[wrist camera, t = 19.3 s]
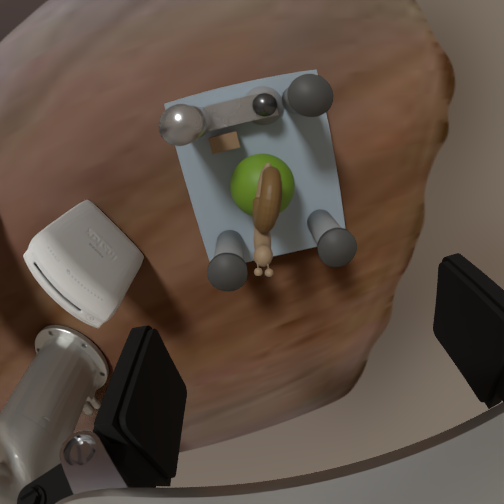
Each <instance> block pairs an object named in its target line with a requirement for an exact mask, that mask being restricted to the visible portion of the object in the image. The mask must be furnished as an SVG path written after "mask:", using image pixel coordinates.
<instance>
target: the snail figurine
mask: <svg viewBox="0 0 504 504" xmlns="http://www.w3.org/2000/svg"><path fill="white" fill-rule="evenodd" d="M294 191H295V181H294V176H293V174H292V171H291V170H290V168H289V167H288V165H287V164H286V163H285V162H284V161H282V160H281V159H280V158H278V157H276V156H273V155H270V154H255V155H251V156H249V157H247V158H245V159H244V160H242V161H241V162H240V163H239V164H238V165H237V166H236V168H235V169H234V171H233V173H232V176H231V180H230V192H231V196H232V198H233V200H234V202H235V204H236V205H237V206H238V208H239V209H241V210H242V211H243V212H244V213H246V214H248V215H250V216H253V224H254V238H253V241H254V248H255V251H254V261H255V262H256V264H257V268H256V269H255V270H254V274H255V275H256V276H261V275H262V274H263V271H262V269H261V268H259V266H261V267H265V266H267V267H268V269H266V270H265V275H266V276H267V277H271V276H272V275H273V270H272V269H269V264H270V263H271V261H272V259H273V252H272V250H271V234H270V230H272V228H273V227H274V225H275V223H276V220H277V219H278V216H279V213H281V212H282V211H283V210H284V209H286V207H287V206H288V205H289V204H290V202H291V200H292V198H293V195H294Z"/></svg>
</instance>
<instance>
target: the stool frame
mask: <svg viewBox="0 0 504 504" xmlns="http://www.w3.org/2000/svg"><path fill="white" fill-rule="evenodd" d="M269 91H273V93H274V97H275V99H276V101H277V110H278V114H279V115H276V116H271V117H267V118H262V119H257V120H253V121H249V122H244V123H240V124H236V125H232V126H228V127H224V128H220V129H217V130H213V131H209V132H207V134H205V135H204V136H202V137H201V138H199V139H197V140H195V141H193V142H191V143H190V144H187V145H184V146H176V150H177V153H178V157H179V161H180V164H181V168H182V171H183V175H184V178H185V182H186V185H187V189H188V192H189V195H190V199H191V202H192V206H193V209H194V212H195V216H196V219H197V222H198V225H199V229H200V232H201V235H202V238H203V242H204V245H205V248H206V251H207V254H208V258H209V261H210V263H209V266H208V271H207V275H208V279H209V281H210V283H211V284H212V285H213V286H214V287H215V288H217V289H219V290H222V291H234V290H237V289H239V288H240V287H242V286H243V285H244V283H245V282H246V280H247V275H248V272H247V265H246V262H250V261H254V251H255V248H254V241H253V238H254V224H253V216H250V215H248V214H246V213H244V212H243V211H242V210H241V209H239V208H238V206H237V205H236V204H235V202H234V200H233V198H232V196H231V192H230V180H231V176H232V173H233V171H234V169H235V168H236V166H237V165H238V164H239V163H240V162H241V161H242V160H244V159H245V158H247V157H249V156H251V155H255V154H270V155H273V156H276V157H278V158H280V159H281V160H282V161H284V162H285V163H286V164H287V165H288V167H289V168H290V170H291V171H292V174H293V176H294V181H295V191H294V195H293V198H292V200H291V202H290V204H289V205H288V206H287V207H286V209H284V210H283V211H282V212H281V213H279V216H278V219H277V220H276V223H275V225H274V227H273V228H272V230H270V234H271V250H272V252H273V256H277V255H282V254H286V253H291V252H295V251H299V250H304V249H308V248H313V247H317V252H318V255H319V257H320V259H321V260H322V261H323V263H325V264H326V265H328V266H330V267H341V266H344V265H346V264H347V263H349V262H350V261H351V260H352V259H353V257H354V256H355V253H356V250H357V243H356V240H355V238H354V236H353V235H352V234H351V233H350V232H349V231H348V230H346V229H345V222H344V215H343V207H342V200H341V193H340V187H339V180H338V174H337V168H336V162H335V156H334V151H333V145H332V140H331V134H330V129H329V124H328V119H327V114H326V112H327V111H328V110H329V108H330V107H331V105H332V102H333V91H332V88H331V86H330V84H329V83H328V82H327V81H326V80H325V79H324V78H322V77H321V76H319V75H318V74H317V70H309V71H303V72H296V73H290V74H284V75H278V76H273V77H268V78H262V79H258V80H253V81H248V82H243V83H239V84H235V85H230V86H226V87H222V88H218V89H214V90H210V91H207V92H203V93H199V94H196V95H192V96H189V97H185V98H182V99H179V100H175V101H172V102H169V103H166V104H164V105H165V109H168V108H169V107H171V106H173V105H176V104H187V105H192V106H197V107H201V108H202V107H206V106H210V105H213V104H217V103H221V102H225V101H229V100H233V99H237V98H241V97H246V96H250V95H254V94H259V93H264V92H269Z"/></svg>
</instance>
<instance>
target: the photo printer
mask: <svg viewBox="0 0 504 504" xmlns="http://www.w3.org/2000/svg"><path fill="white" fill-rule="evenodd" d="M23 257H24V260H25V262H26V264H27V266H28V268H29V270H30V271H31V273H32V274H33V276H34V277H35V279H36V280H37V281H38V283H39V284H40V285H41V287H42V288H43V289H44V290H45V291H46V292H47V293H48V294H49V295H50V297H51V298H53V299H54V300H55V301H56V302H57V303H58V304H59V305H60V306H61V307H62V308H64V309H65V310H66V311H67V312H69V313H70V314H72V315H73V316H74V317H76V318H77V319H79V320H81V321H82V322H84V323H86V324H88V325H91V326H93V327H96V328H99V327H100V326H101V325H102V324H103V323H104V322H106V321H108V320H109V319H110V318H111V317H112V316H113V315H114V313H115V312H116V311H117V309H118V307H119V305H120V304H121V302H122V300H123V298H124V296H125V294H126V292H127V290H128V289H129V287H130V285H131V283H132V281H133V279H134V278H135V276H136V274H137V272H138V270H139V269H140V267H141V265H142V261H143V259H144V256H143V254H142V253H141V251H140V250H139V249H138V248H137V247H136V245H135V244H134V243H133V242H132V241H131V240H130V239H129V238H128V237H127V236H126V235H125V234H124V233H123V232H122V231H121V230H120V229H119V228H118V227H117V226H116V225H115V224H114V223H113V222H112V221H111V220H110V219H109V218H108V217H107V216H106V215H105V214H104V213H103V212H102V211H101V210H100V209H99V208H98V207H97V206H96V205H94V204H93V203H92V202H91V201H89V200H85V201H84V202H81V203H79V204H78V205H76V206H75V207H73V208H72V209H71V210H69V211H68V212H66V213H65V214H63V215H62V216H61V217H59V218H58V219H57V220H55V221H54V222H52V223H51V224H50V225H48V226H47V227H46V228H44V229H43V230H42V231H40V232H39V233H38V234H36V235H35V236H34V238H33V239H32V240H31V242H30V244H29V247H28V249H27V251H26V252H25V253H24V255H23Z"/></svg>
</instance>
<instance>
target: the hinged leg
mask: <svg viewBox="0 0 504 504" xmlns="http://www.w3.org/2000/svg"><path fill="white" fill-rule="evenodd" d="M276 115H279V114H278V110H277V101H276V99H275V97H274V93H273V91H269V92H264V93H259V94H254V95H250V96H246V97H241V98H237V99H233V100H229V101H225V102H221V103H217V104H213V105H210V106H206V107H202V108H201V107H197V106H192V105H187V104H176V105H173V106H171V107H169V108H168V109H166V110H165V111H164V112H163V114H162V116H161V118H160V121H159V131H160V134H161V136H162V137H163V139H164V140H165V141H166V142H168V143H169V144H171V145H174V146H184V145H187V144H190V143H191V142H193V141H195V140H197V139H199V138H201V137H202V136H204V135H205V134H207V132H209V131H213V130H217V129H220V128H224V127H228V126H232V125H236V124H240V123H244V122H249V121H253V120H257V119H262V118H267V117H271V116H276Z"/></svg>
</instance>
